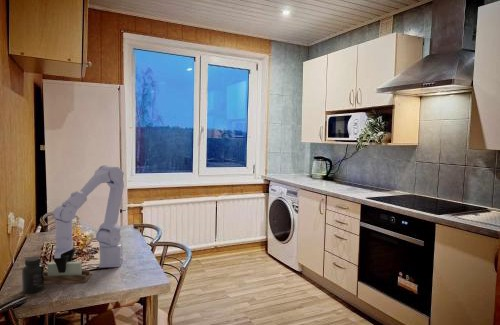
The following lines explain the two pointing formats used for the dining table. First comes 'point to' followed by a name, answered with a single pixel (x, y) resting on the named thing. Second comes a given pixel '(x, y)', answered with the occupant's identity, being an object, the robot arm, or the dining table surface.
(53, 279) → the brown flat wooden board
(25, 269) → the supplement bottle
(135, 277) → the dining table surface
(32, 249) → the dining table surface
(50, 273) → the door panel
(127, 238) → the dining table surface
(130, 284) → the dining table surface
